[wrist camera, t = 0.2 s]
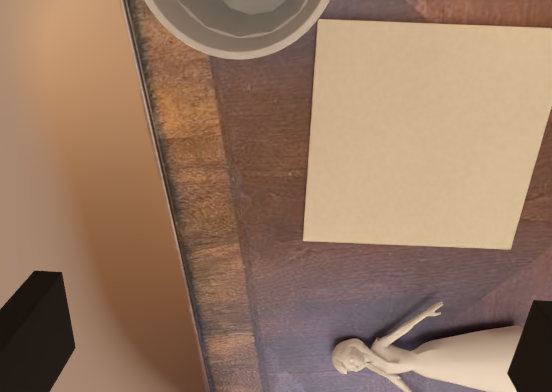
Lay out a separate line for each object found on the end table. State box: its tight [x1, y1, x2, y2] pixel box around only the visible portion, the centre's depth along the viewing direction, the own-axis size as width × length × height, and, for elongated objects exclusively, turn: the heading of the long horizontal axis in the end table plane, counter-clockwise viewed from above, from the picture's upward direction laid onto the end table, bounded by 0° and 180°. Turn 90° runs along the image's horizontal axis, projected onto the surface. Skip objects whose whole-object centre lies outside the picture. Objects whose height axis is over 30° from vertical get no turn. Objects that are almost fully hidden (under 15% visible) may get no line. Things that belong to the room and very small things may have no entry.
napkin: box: [303, 19, 552, 249], centre depth 32 cm, size 16×16×1 cm
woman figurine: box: [332, 302, 523, 392], centre depth 38 cm, size 12×4×18 cm
